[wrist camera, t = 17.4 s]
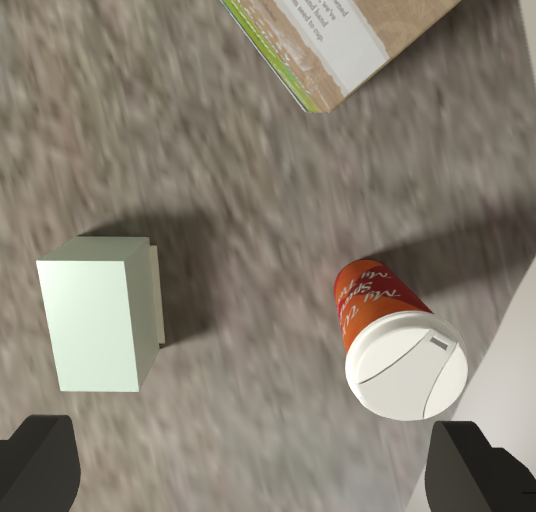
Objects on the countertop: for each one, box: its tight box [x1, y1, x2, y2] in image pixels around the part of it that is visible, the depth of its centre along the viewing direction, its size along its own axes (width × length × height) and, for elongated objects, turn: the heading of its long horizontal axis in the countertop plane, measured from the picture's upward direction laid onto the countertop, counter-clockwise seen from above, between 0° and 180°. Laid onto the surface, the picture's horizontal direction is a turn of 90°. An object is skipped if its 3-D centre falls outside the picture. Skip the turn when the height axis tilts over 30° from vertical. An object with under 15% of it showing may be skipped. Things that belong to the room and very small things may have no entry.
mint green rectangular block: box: [36, 236, 160, 392], centre depth 36 cm, size 12×7×7 cm, turn 0°
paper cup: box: [334, 260, 468, 421], centre depth 32 cm, size 8×8×14 cm
